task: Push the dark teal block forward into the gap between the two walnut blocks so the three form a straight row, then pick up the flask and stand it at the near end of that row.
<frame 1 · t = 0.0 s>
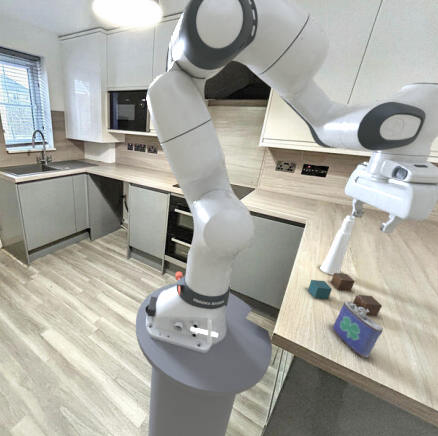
hand: (369, 223, 58), 28 cm above the worktop, tool pointing down, fingers open, 8 cm apart
walnut block far: (340, 286, 79), on the worktop
cosmetic bottle: (329, 271, 88), on the worktop
walnut block near: (363, 310, 69), on the worktop
teal block: (317, 294, 75), on the worktop
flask: (347, 342, 59), on the worktop
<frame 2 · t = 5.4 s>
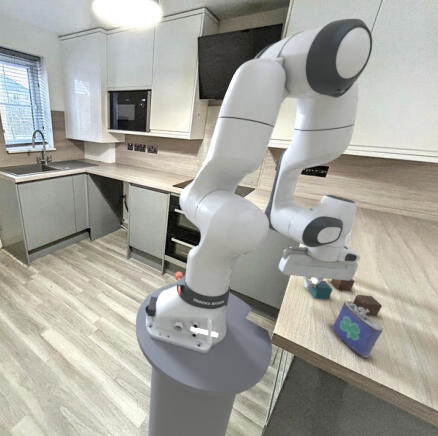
hand: (309, 286, 75), 2 cm above the worktop, tool pointing down, fingers closed
teal block: (318, 294, 75), on the worktop, touching gripper
everything else where it was.
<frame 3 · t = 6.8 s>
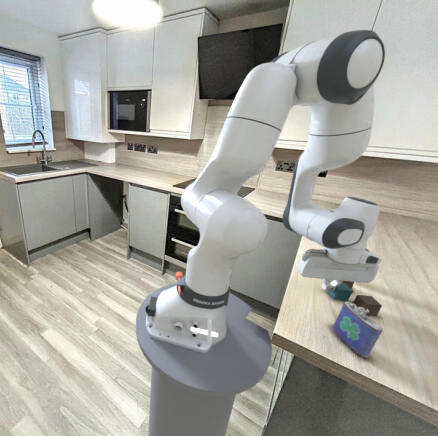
hand: (327, 289, 74), 2 cm above the worktop, tool pointing down, fingers closed
teal block: (336, 296, 74), on the worktop, touching gripper
everything else where it was.
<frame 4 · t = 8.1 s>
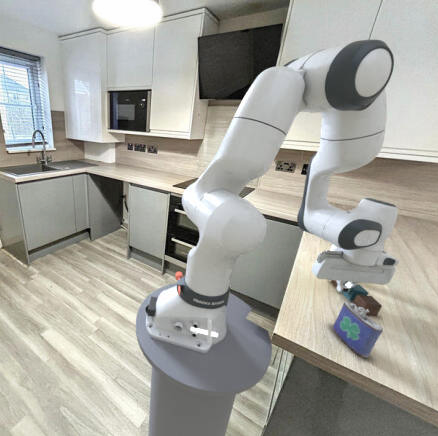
hand: (342, 291, 74), 2 cm above the worktop, tool pointing down, fingers closed
teal block: (351, 297, 74), on the worktop, tilted 6°, touching gripper
everything else where it was.
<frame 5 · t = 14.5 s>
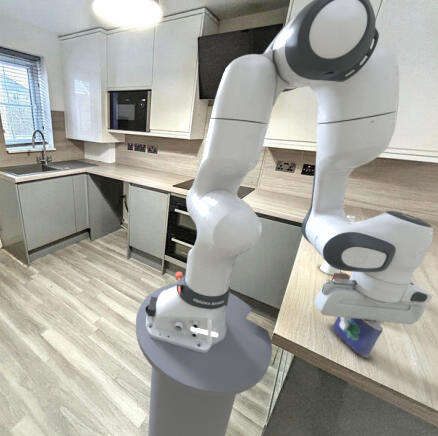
hand: (354, 329, 57), 4 cm above the worktop, tool pointing down, fingers closed on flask, 3 cm apart
teal block: (351, 297, 74), on the worktop
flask: (347, 342, 59), on the worktop, touching gripper
everything else where it was.
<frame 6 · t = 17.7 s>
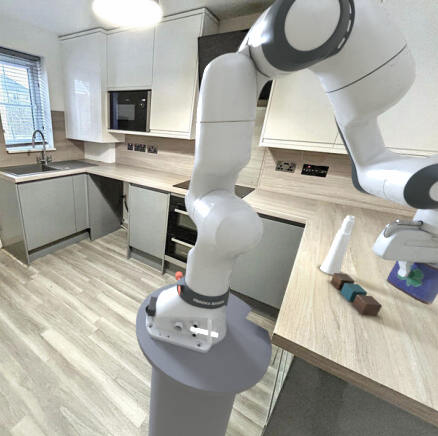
hand: (414, 277, 55), 18 cm above the worktop, tool pointing down, fingers closed on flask, 3 cm apart
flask: (406, 291, 56), point 14 cm above the worktop, touching gripper
everything else where it was.
when the fingers open (4 cm above the worktop, at t = 21.0 s): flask stays where it is, on the worktop.
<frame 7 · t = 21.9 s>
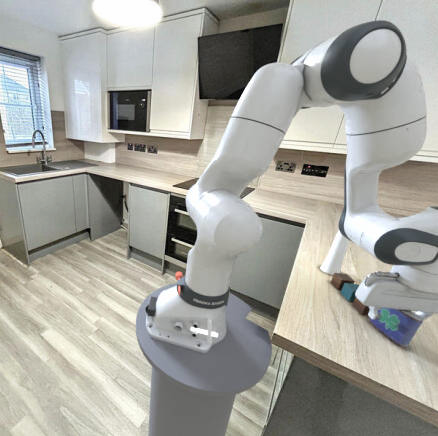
hand: (393, 320, 60), 4 cm above the worktop, tool pointing down, fingers open, 8 cm apart
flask: (385, 333, 62), on the worktop
everything else where it was.
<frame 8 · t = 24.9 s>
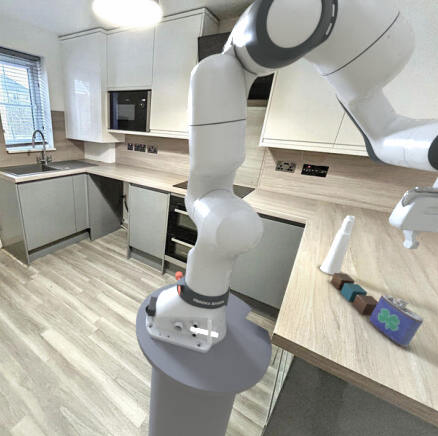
hand: (432, 249, 52), 25 cm above the worktop, tool pointing down, fingers open, 8 cm apart
nothing on the worktop moved.
at the end: teal block 0.1 cm from the target spot on the worktop beside the walnut block far, on the worktop; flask 0.0 cm from the target spot on the worktop beside the walnut block far, on the worktop; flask tilted 0° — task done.
